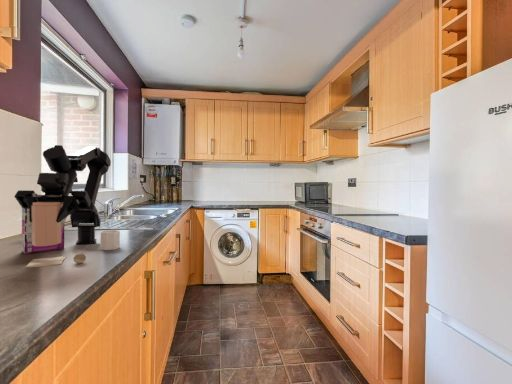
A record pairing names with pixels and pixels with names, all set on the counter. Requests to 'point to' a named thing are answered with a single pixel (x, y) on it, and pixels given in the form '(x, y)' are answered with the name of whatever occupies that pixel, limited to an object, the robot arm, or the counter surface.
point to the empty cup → (110, 239)
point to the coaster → (46, 262)
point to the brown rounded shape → (45, 223)
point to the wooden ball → (79, 258)
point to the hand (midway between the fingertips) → (44, 221)
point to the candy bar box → (27, 236)
